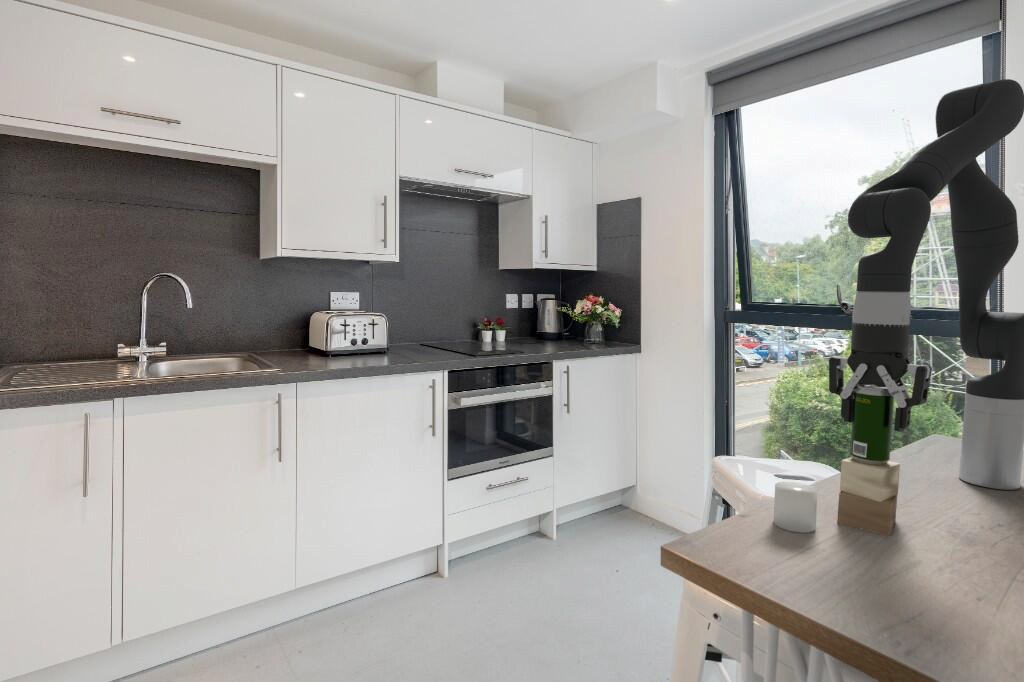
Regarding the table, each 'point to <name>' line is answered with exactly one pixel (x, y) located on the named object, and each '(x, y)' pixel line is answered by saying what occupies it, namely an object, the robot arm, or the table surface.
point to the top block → (870, 479)
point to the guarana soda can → (871, 425)
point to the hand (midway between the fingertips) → (873, 425)
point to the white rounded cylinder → (795, 507)
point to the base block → (867, 512)
